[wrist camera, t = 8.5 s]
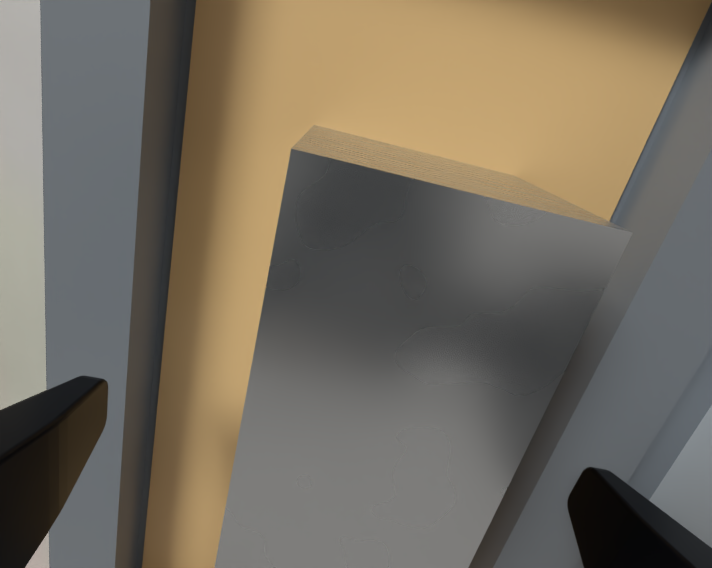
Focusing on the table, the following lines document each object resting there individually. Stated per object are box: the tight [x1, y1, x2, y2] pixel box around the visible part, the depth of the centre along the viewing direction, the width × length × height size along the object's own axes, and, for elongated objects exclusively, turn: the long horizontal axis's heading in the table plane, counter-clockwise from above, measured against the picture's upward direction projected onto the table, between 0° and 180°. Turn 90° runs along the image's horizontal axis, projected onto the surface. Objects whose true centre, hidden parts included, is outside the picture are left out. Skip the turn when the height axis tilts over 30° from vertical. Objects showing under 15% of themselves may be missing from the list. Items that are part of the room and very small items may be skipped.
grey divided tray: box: [40, 0, 712, 568], centre depth 10 cm, size 23×21×5 cm
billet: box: [214, 125, 633, 568], centre depth 9 cm, size 4×10×4 cm, turn 166°
